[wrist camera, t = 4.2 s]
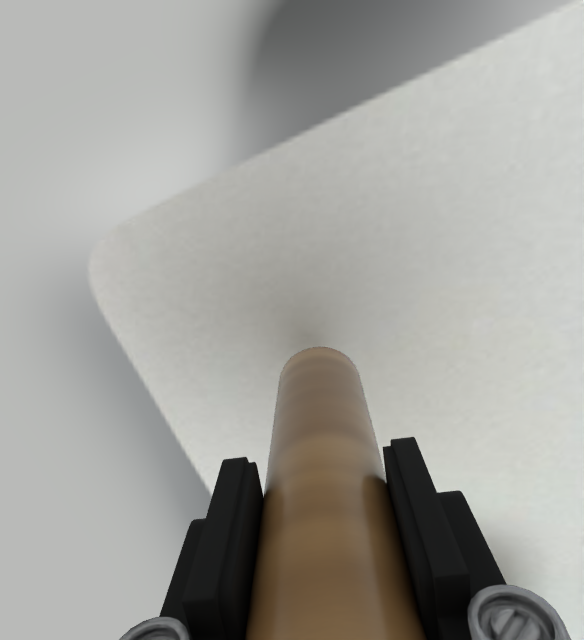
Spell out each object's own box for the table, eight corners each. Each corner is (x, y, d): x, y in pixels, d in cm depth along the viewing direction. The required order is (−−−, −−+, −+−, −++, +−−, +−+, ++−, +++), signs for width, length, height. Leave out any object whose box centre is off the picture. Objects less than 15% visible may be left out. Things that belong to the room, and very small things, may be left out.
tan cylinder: (272, 352, 17) (204, 714, 6) (355, 340, 17) (457, 695, 5) (285, 424, 18) (249, 866, 7) (364, 415, 18) (468, 854, 6)
